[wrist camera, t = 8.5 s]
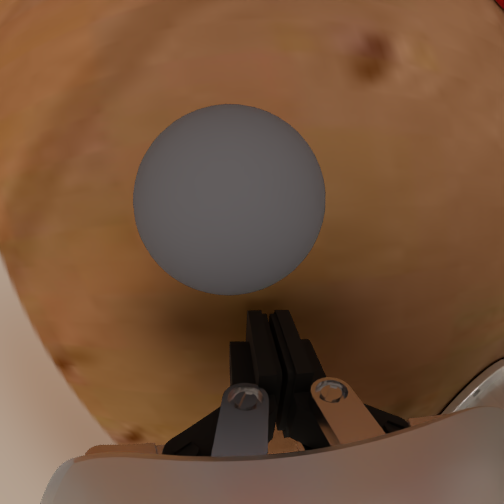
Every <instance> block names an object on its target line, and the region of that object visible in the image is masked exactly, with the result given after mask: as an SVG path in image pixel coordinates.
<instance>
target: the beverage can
mask: <svg viewBox="0 0 504 504" xmlns="http://www.w3.org/2000/svg"><path fill="white" fill-rule="evenodd" d="M495 1H496V2H497V3H498V5H499V6H500V7H501V8H503V9H504V0H495Z"/></svg>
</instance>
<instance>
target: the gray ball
mask: <svg viewBox="0 0 504 504" xmlns="http://www.w3.org/2000/svg"><path fill="white" fill-rule="evenodd" d="M133 206H134V214H135V221H136V225H137V229H138V231H139V234H140V237H141V239H142V241H143V243H144V245H145V247H146V248H147V250H148V251H149V253H150V255H151V256H152V257H153V259H154V260H155V261H156V262H157V264H158V265H159V266H160V267H161V268H162V269H163V270H164V271H165V272H167V273H168V274H169V275H170V276H172V277H173V278H175V279H176V280H178V281H179V282H181V283H183V284H185V285H187V286H189V287H191V288H194V289H196V290H200V291H203V292H207V293H212V294H218V295H240V294H246V293H251V292H255V291H258V290H261V289H264V288H266V287H269V286H271V285H273V284H274V283H276V282H278V281H279V280H281V279H283V278H284V277H286V276H287V275H288V274H290V273H291V272H292V271H293V270H295V268H296V267H297V266H298V265H299V264H300V263H301V262H302V261H303V260H304V259H305V257H306V256H307V255H308V253H309V252H310V250H311V249H312V247H313V245H314V243H315V241H316V239H317V237H318V234H319V232H320V229H321V226H322V223H323V218H324V212H325V186H324V180H323V176H322V172H321V169H320V166H319V164H318V162H317V159H316V157H315V155H314V153H313V152H312V150H311V148H310V147H309V145H308V144H307V142H306V141H305V140H304V139H303V137H302V136H301V135H300V134H299V133H298V132H297V131H296V130H295V129H294V128H293V127H291V126H290V125H289V124H288V123H286V122H285V121H283V120H282V119H280V118H279V117H277V116H275V115H273V114H271V113H269V112H267V111H264V110H261V109H258V108H255V107H250V106H244V105H236V104H223V105H214V106H209V107H206V108H202V109H199V110H196V111H194V112H191V113H189V114H187V115H184V116H183V117H181V118H179V119H178V120H176V121H175V122H173V123H172V124H171V125H170V126H169V127H167V128H166V129H165V130H164V131H163V132H162V133H160V135H159V136H158V137H157V138H156V139H155V140H154V142H153V143H152V144H151V146H150V147H149V149H148V151H147V152H146V154H145V156H144V157H143V160H142V162H141V164H140V166H139V169H138V173H137V176H136V180H135V185H134V193H133Z"/></svg>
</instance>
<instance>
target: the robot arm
mask: <svg viewBox="0 0 504 504" xmlns="http://www.w3.org/2000/svg"><path fill="white" fill-rule="evenodd" d="M275 423H276V425H277V429H278V431H279V430H283V435H284V438H286V437H291V438H293V439H294V440H296V441H297V447H298V450H299V451H298V452H290V453H280V454H269V455H267V453H268V442H269V441H270V440H272V438H273V432H274V429H275ZM40 504H504V359H502V360H500V361H498V362H496V363H495V364H493V365H492V366H490V367H489V368H487V369H486V370H485V371H484V372H483V373H481V374H480V375H479V376H478V377H477V378H475V379H474V380H473V381H472V382H471V383H470V384H469V385H468V386H467V387H466V388H465V389H464V390H463V391H462V392H461V393H460V394H459V395H458V396H457V397H456V398H455V399H454V400H453V401H452V402H451V403H450V404H449V405H448V407H447V408H446V409H445V410H444V411H443V413H442V414H441V415H435V416H427V417H418V418H409V419H408V420H407V421H405V420H404V419H402V418H400V417H398V416H395V415H392V414H390V413H387V412H384V411H382V410H379V409H376V408H374V407H371V406H369V405H366V404H364V403H362V401H361V400H360V399H359V397H358V396H357V395H356V393H355V392H354V391H353V389H352V388H351V387H350V386H349V385H348V384H347V383H346V382H345V381H343V380H341V379H338V378H333V377H326V375H325V373H324V371H323V369H322V366H321V364H320V362H319V360H318V358H317V355H316V353H315V351H314V349H313V346H312V344H311V342H310V340H308V339H302V340H301V339H300V336H299V334H298V332H297V329H296V327H295V324H294V322H293V319H292V317H291V315H290V312H289V310H275V311H274V314H270V315H269V322H268V318H267V314H262V312H261V310H249V311H247V328H246V341H242V342H230V387H229V388H228V389H227V390H226V391H225V392H224V394H223V397H222V403H221V406H220V407H219V408H218V409H216V410H215V411H213V412H212V413H210V414H209V415H207V416H206V417H204V418H203V419H202V420H200V421H199V422H197V423H196V424H194V425H193V426H191V427H189V428H188V429H186V430H185V431H183V432H182V433H180V434H179V435H177V436H175V437H174V438H172V439H171V440H169V441H168V442H167V443H166V444H165V445H157V446H156V445H155V443H146V444H127V445H98V446H94V447H92V448H91V449H89V450H88V451H87V452H86V453H85V455H83V456H79V457H75V458H72V459H70V460H68V461H66V462H64V463H63V464H62V465H61V466H59V468H58V469H57V470H56V471H55V473H54V474H53V476H52V478H51V479H50V481H49V483H48V485H47V488H46V490H45V492H44V495H43V497H42V500H41V503H40Z"/></svg>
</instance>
